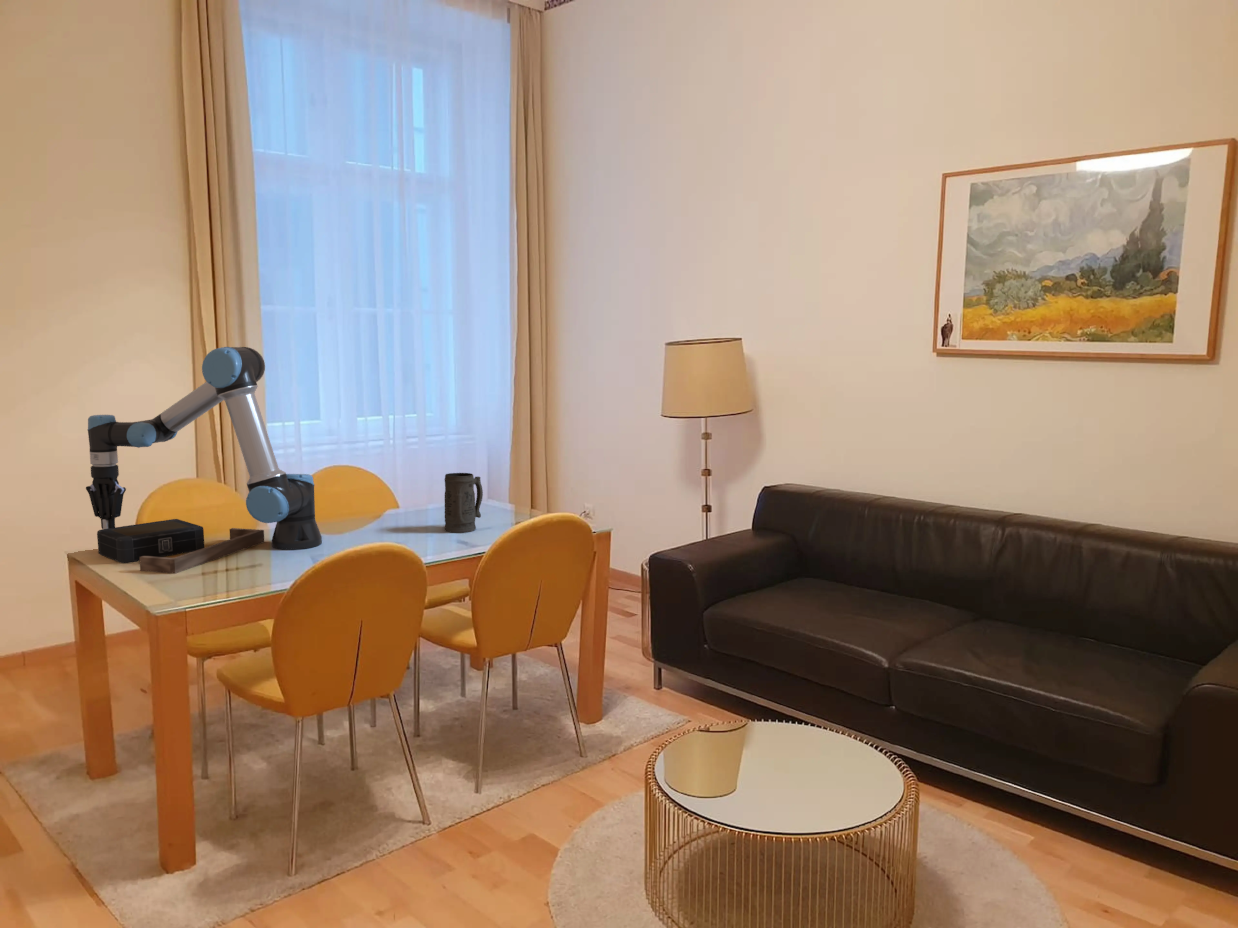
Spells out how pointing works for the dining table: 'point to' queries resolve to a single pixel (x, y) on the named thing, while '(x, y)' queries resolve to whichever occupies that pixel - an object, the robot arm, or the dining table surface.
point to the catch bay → (204, 552)
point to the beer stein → (461, 502)
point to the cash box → (150, 540)
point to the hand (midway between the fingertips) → (109, 539)
